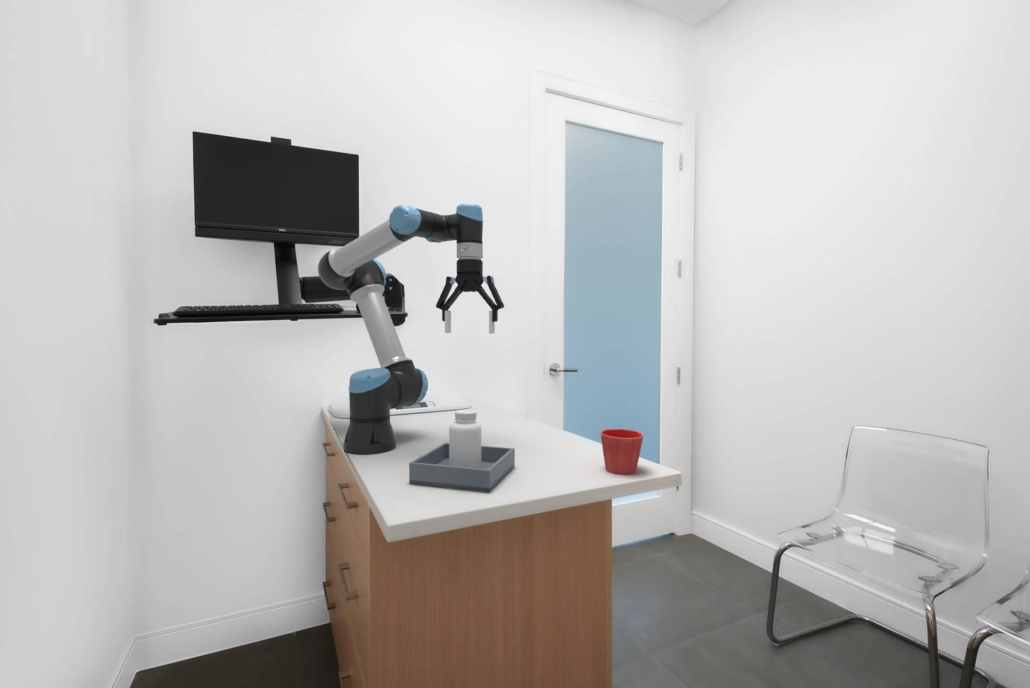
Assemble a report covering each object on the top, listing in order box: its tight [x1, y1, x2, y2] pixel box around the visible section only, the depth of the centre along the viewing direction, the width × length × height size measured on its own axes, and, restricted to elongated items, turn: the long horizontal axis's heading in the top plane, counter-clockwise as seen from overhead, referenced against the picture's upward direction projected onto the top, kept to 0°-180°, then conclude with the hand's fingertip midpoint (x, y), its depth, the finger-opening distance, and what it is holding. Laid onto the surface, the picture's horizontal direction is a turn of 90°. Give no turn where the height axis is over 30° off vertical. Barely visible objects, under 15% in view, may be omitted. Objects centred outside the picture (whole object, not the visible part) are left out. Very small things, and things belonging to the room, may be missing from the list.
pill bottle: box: [448, 409, 482, 469], centre depth 123 cm, size 8×8×15 cm
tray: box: [408, 442, 516, 494], centre depth 124 cm, size 20×20×5 cm
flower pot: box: [600, 428, 644, 475], centre depth 129 cm, size 11×11×10 cm
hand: (469, 333), depth 144 cm, fingers open, 13 cm apart
